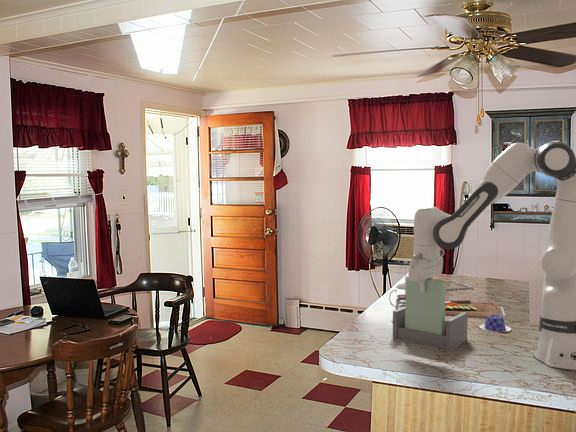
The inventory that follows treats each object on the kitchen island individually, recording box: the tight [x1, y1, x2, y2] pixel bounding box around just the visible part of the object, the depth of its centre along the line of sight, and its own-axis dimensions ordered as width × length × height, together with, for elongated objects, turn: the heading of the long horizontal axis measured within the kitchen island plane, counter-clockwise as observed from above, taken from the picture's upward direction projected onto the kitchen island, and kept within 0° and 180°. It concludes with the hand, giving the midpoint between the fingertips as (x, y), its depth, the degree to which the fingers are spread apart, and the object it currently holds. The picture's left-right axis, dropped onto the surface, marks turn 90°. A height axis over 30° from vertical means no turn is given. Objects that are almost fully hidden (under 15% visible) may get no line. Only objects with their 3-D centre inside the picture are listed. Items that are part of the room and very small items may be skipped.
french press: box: [388, 260, 409, 310], centre depth 234 cm, size 10×12×25 cm
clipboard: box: [445, 280, 474, 291], centre depth 302 cm, size 19×2×30 cm
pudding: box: [479, 315, 512, 333], centre depth 219 cm, size 12×12×5 cm
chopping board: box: [400, 299, 506, 319], centre depth 252 cm, size 45×27×3 cm, turn 73°
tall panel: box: [405, 275, 447, 336], centre depth 196 cm, size 14×2×20 cm, turn 50°
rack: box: [392, 306, 469, 351], centre depth 200 cm, size 22×15×12 cm
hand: (425, 290), depth 196 cm, fingers closed on tall panel, 2 cm apart
